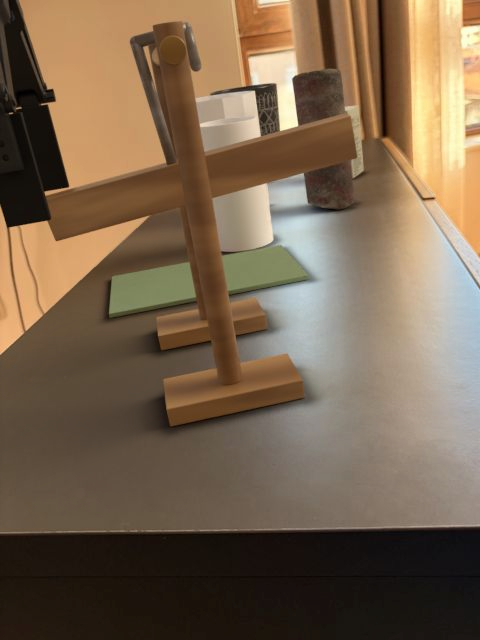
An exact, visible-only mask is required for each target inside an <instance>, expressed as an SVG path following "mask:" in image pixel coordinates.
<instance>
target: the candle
mask: <svg viewBox="0 0 480 640" xmlns="http://www.w3.org/2000/svg"><path fill="white" fill-rule="evenodd" d="M291 81H292V82H291V83H292V89H293V95H294V96H293V97H294V104H295V112H296V119H297V120H296V121H297V126H300V125H304V124H308V123H311V122H315V121H319V120H322V119H326V118H329V117H333V116H337V115H340V114H344V113H345V95H344V84H343V78H342V71H341V70H340V69H338V68H326V69H320V70H311V71H309V72H307V71H306V72H301V73H298V74H295V75H294V76H293V77H292V78H291ZM303 177H304V185H305V193H306V200H307V204H309V205H312V206H314V207H320V208H321V209H331V210H335V211H336V210H345V209H347V208H348V207H350V206H351V205H353V204H354V203H355V189H354V178H352V169H351V162H350V160H349V161H345V162H342V163H338V164H335V165H331V166H327V167H324V168H320V169H316V170H313V171H309V172H306V173H303Z"/></svg>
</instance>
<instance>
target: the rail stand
mask: <svg viewBox="0 0 480 640" xmlns="http://www.w3.org/2000/svg"><path fill="white" fill-rule="evenodd" d="M183 23H184V22H183V20H176V21H167V22H161V23H156V24H153V25H152V31H153V32H154V37H155V43H156V44H153V45H149V46H147V48H148V49H147V50H148V54H149V58H150V59H149V60H150V63H151V69H152V74H153V75H152V76H153V81H154V85H155V89H156V92H157V95H158V99H159V102H160V105H161V109H162V112H163V116H164V119H165V122H166V126H167V129H168V132H169V136H170V139H171V142H172V146H173V149H174V152H175V156H176V159H177V160H178V166H179V171H180V176H181V182H182V187H183V193H184V198H185V203H186V206H183V207H179V208H178V210H179V216H180V221H181V227H182V231H183V236H184V241H185V247H186V253H187V257H188V262H189V263H190V268H191V273H192V279H193V284H194V289H195V294H196V300H197V301H196V306H197V308H196V309H191V310H186V311H180V312H175V313H171V314H165V315H161V316H156V317H155V319H156V320H155V321H156V329H157V337H158V342H159V346H160V350H161V351H166V350H171V349H176V348H181V347H185V346H190V345H191V346H192V345H195V344H201V343H206V342H211V347H212V353H213V358H214V364H215V367H214V368H210V369H206V370H205V369H204V370H200V371H195V372H191V373H187V374H182V375H177V376H172V377H171V376H170V377H167V378H163V379H162V383H163V392H164V400H165V408H166V413H167V417H168V418H167V419H168V423H169V426H170V427H176V426H181V425H184V424H189V423H193V422H199V421H203V420H204V421H205V420H208V419H213V418H217V417H221V416H227V415H231V414H235V413H241V412H245V411H251V410H254V409H258V408H263V407H267V406H273V405H277V404H281V403H287V402H291V401H296V400H300V399H305V397H306V394H305V392H306V391H305V385H304V379H303V378H302V376H301V374H300V373H299V371H298V369H297V368H296V365H295V364H294V362H293V360H292V359H291V357H290V355H289V353H288V352H287V353H282V354H277V355H273V356H268V357H263V358H259V359H254V360H253V359H252V360H248V361H244V362H241V361H240V355H239V349H238V343H237V338H236V336H239V335H240V336H241V335H246V334H249V333H254V332H255V333H256V332H260V331H265V330H268V328H269V327H268V321H267V315H266V313H265V310H264V309H263V307H262V306H261V304H260V302H259V300H258V298H257V297H252V298H246V299H242V300H236V301H232V302H230V295H228V289H227V283H226V277H225V271H224V265H223V259H222V256H223V254H222V251H221V247H220V241H219V235H218V229H217V224H216V218H215V212H214V206H213V200H212V194H211V188H210V182H209V176H208V170H207V164H206V158H205V152H204V146H203V140H202V135H201V129H200V123H199V117H198V111H197V105H196V99H195V98H196V93H195V88H194V81H193V75H192V69H191V67H190V63H189V57H188V51H187V46H186V40H185V34H184V28H183Z"/></svg>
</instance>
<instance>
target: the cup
mask: <svg viewBox="0 0 480 640" xmlns="http://www.w3.org/2000/svg"><path fill="white" fill-rule="evenodd" d="M200 129H201V135H202V140H203V146H204V152H206V151H210V150H213V149H217V148H220V147H224V146H228V145H231V144H235V143H239V142H242V141H246V140H250V139H253V138H257V137H260V133H259V126H258V119H257V116H244V117H235V118H227V119H221V120H215V121H210V122H205V123H201V124H200ZM267 186H268V184H267V185H266V184H262V185H259V186H255V187H251V188H248V189H244V190H241V191H237V192H233V193H230V194H226V195H223V196H219V197H215V198H212V200H213V206H214V212H215V218H216V224H217V229H218V235H219V241H220V247H221V252H226V253H240V252H245V251H250V250H256V249H261V248H264V247H265V246H268V245H269V244H271V243H272V242H273V241H274V231H273V224H272V223H273V222H272V217H271V208H270V206H269V201H270V199H269V200H268V194H269V192H268V193H267Z"/></svg>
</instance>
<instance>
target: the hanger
mask: <svg viewBox="0 0 480 640" xmlns="http://www.w3.org/2000/svg"><path fill="white" fill-rule="evenodd" d="M183 28H184V34H185V40H186V46H187V51H188V57H189V63H190V69H191V71H193V72H196V73H197V72H198V73H199V72H200V70H201V69H202V62H201V58H200V54H199V49H198V46H197V42H196V39H195V34H194V30H193V27H192V25H191V23H190V22H187V21H184V22H183ZM153 44H156V43H155V37H154V32H153V30H151V31H148V32H144V33H140V34H137V35H133V36H131V37H130V39H129V45H130V48H131V51H132V55H133V59H134V62H135V66H136V67H137V71H138V74H139V75H138V76H139V78H140V81H141V84H142V88H143V91H144V94H145V97H146V100H147V101H146V102H147V105H148V108H149V111H150V115H151V116H152V120H153V123H154V127H155V130H156V133H157V136H158V139H159V143H160V146H161V150H162V153H163V157H164V160H165V162H162V163H159V164H156V165H152V166H148V167H145V168H141V169H138V170H134V171H133V170H132V171H130V172H126V173H123V174H118V175H116V176H111V177H108V178H104V179H101V180H97V181H94V182H90V183H86V184H83V185H79V186H75V187H72V188H69V189H68V188H67V189H65V190H64V189H63V190H60V191H58V192H57V191H56V192H54V193H50V194H45V196H46V199H47V203H48V207H49V210H50V214H51V217H52V218H51V220H49V221H46V222H47V224H48V226H49V228H50V231H51V233H52V236H53V238H54V241H55V242H60V241H63V240H67V239H70V238H75V237H77V236H81V235H86V234H89V233H92V232H96V231H100V230H103V229H106V228H110V227H114V226H118V225H122V224H125V223H129V222H132V221H136V220H139V219H142V218H146V217H150V216H153V215H157V214H160V213H164V212H168V211H172V210H175V209H179V207H183V206H186V203H185V198H184V193H183V187H182V182H181V176H180V171H179V166H178V160H177V159H176V156H175V152H174V149H173V146H172V142H171V139H170V136H169V132H168V129H167V126H166V122H165V119H164V116H163V112H162V109H161V105H160V102H159V99H158V95H157V91H156V85H155V81H154V78H153V75H152V72H151V69H150V65H149V62H148V58H147V56H146V52H145V47H148V46H149V45H153ZM205 158H206V164H207V170H208V176H209V182H210V188H211V194H212V198H215V197H219V196H223V195H226V194H230V193H233V192H237V191H241V190H244V189H248V188H251V187H255V186H259V185H262V184H266V183H267V184H269V183H273V182H276V181H279V180H283V179H287V178H291V177H295V176H299V175H302V174H304V173H306V172H309V171H313V170H316V169H320V168H324V167H327V166H331V165H335V164H338V163H342V162H345V161H349V160H353V159H356V158H357V150H356V144H355V138H354V131H353V125H352V119H351V116H350V115H348V114H346V113H344V114H340V115H337V116H333V117H329V118H326V119H322V120H319V121H315V122H311V123H308V124H304V125H300V126H298V125H297V126H294V127H293V126H292V127H289V128H286V129H283V130H282V129H281V130H280V131H279V132H275V133H271V134H268V135H264V136H260V137H257V138H253V139H250V140H246V141H242V142H239V143H235V144H231V145H228V146H224V147H220V148H217V149H213V150H210V151H206V152H205Z"/></svg>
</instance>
